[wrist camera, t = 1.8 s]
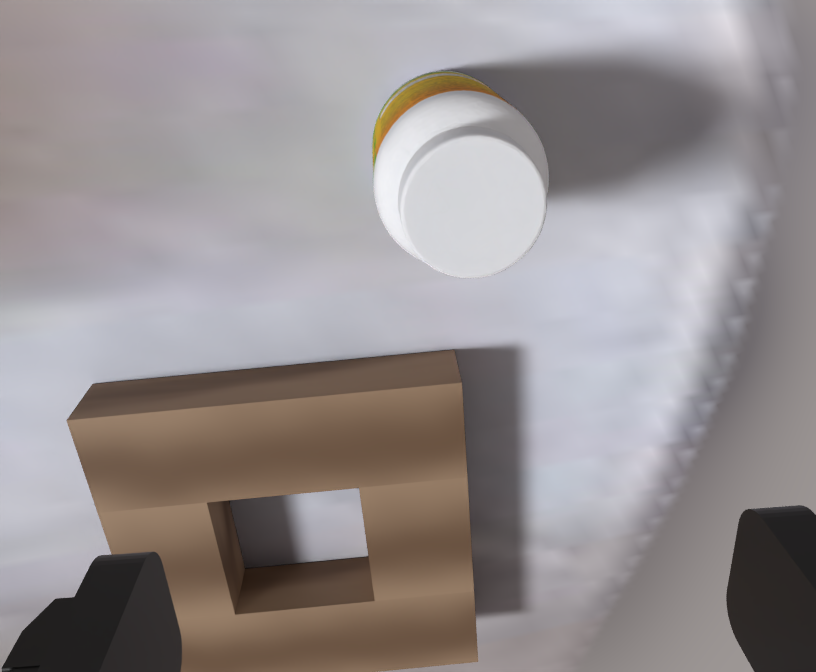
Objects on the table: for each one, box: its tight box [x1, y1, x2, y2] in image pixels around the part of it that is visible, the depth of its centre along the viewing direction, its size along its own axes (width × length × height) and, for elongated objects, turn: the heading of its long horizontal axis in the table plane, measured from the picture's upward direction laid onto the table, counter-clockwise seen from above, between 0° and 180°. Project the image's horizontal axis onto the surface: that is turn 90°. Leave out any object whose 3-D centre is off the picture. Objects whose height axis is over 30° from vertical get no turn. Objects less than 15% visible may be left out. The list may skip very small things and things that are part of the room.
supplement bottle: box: [372, 71, 549, 278], centre depth 24 cm, size 5×5×10 cm
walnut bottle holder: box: [67, 350, 478, 672], centre depth 34 cm, size 16×16×3 cm
